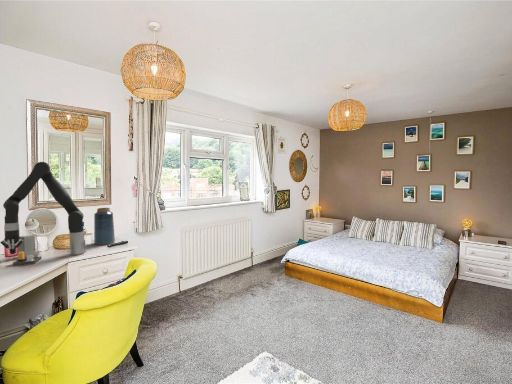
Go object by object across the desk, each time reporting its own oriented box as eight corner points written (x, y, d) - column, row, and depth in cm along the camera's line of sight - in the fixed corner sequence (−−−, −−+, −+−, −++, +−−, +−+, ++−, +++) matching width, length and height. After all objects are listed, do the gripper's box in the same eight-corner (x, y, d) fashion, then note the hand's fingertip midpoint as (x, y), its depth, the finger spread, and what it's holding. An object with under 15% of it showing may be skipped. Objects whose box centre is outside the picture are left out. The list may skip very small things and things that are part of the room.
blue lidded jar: (97, 241, 245) (96, 207, 243) (117, 240, 249) (116, 207, 247) (91, 246, 229) (89, 209, 227) (112, 244, 233) (110, 209, 231)
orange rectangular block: (26, 258, 187) (26, 251, 187) (23, 259, 184) (23, 252, 183) (19, 258, 186) (18, 251, 185) (16, 260, 182) (15, 253, 182)
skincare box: (25, 258, 195) (23, 237, 194) (17, 257, 196) (16, 236, 195) (36, 254, 203) (35, 234, 202) (29, 254, 205) (28, 234, 204)
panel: (42, 258, 193) (41, 250, 193) (33, 264, 182) (33, 255, 181) (22, 260, 190) (21, 251, 190) (12, 265, 178) (11, 256, 178)
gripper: (26, 227, 188) (27, 251, 189) (3, 228, 184) (4, 253, 185) (20, 229, 181) (21, 254, 182) (-4, 230, 177) (-3, 256, 178)
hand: (12, 253), depth 183 cm, fingers closed
